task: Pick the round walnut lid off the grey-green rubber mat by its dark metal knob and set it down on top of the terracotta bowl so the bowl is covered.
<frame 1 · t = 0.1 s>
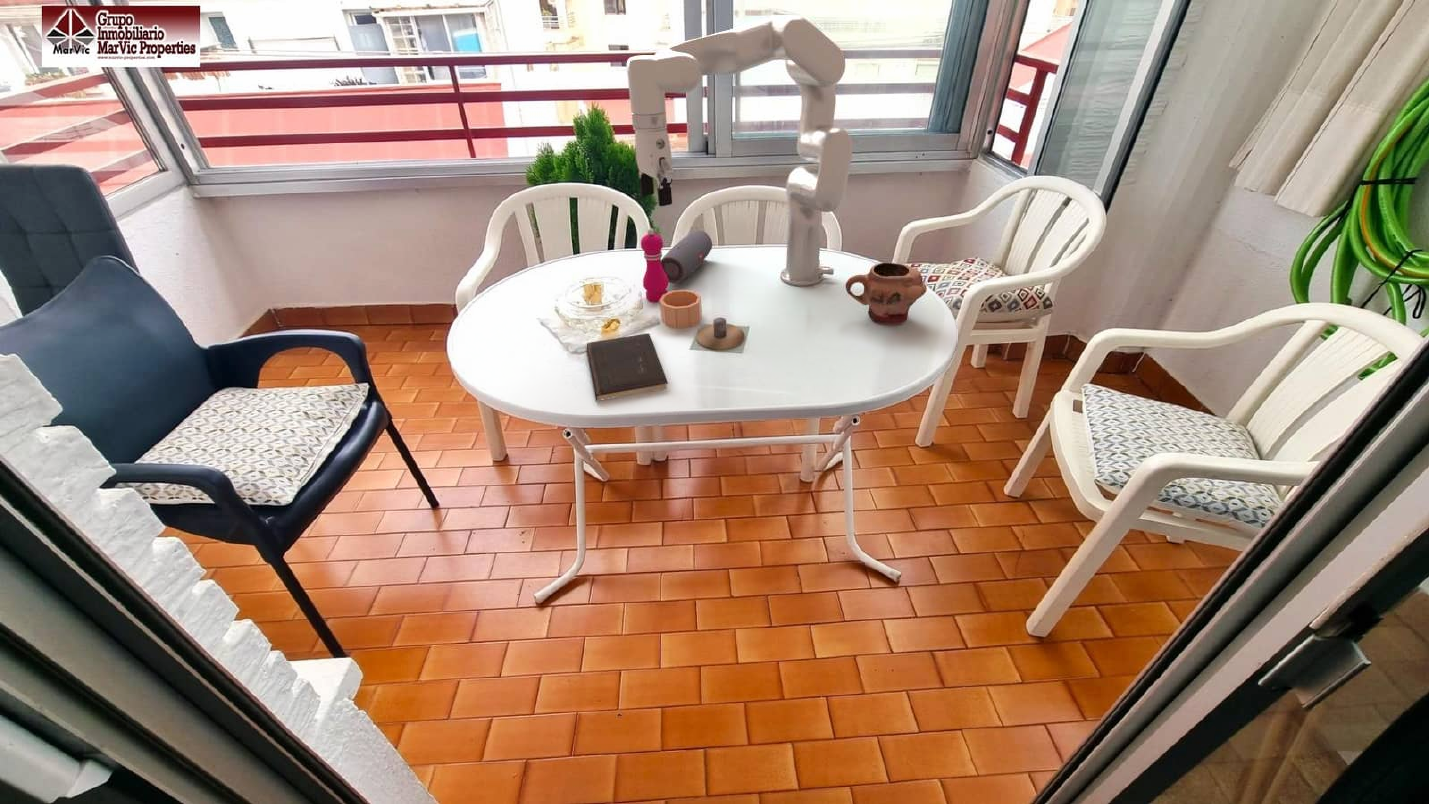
hand: (656, 199, 137), 31 cm above the table, tool pointing down, fingers open, 9 cm apart
pepper mill: (657, 297, 165), on the table
terracotta clay mug: (880, 318, 151), on the table
bowl: (681, 319, 154), on the table
lid: (720, 337, 145), resting on mat
mat: (720, 338, 145), on the table
bluetooth speaker: (687, 273, 178), on the table
hardcover book: (625, 370, 136), on the table
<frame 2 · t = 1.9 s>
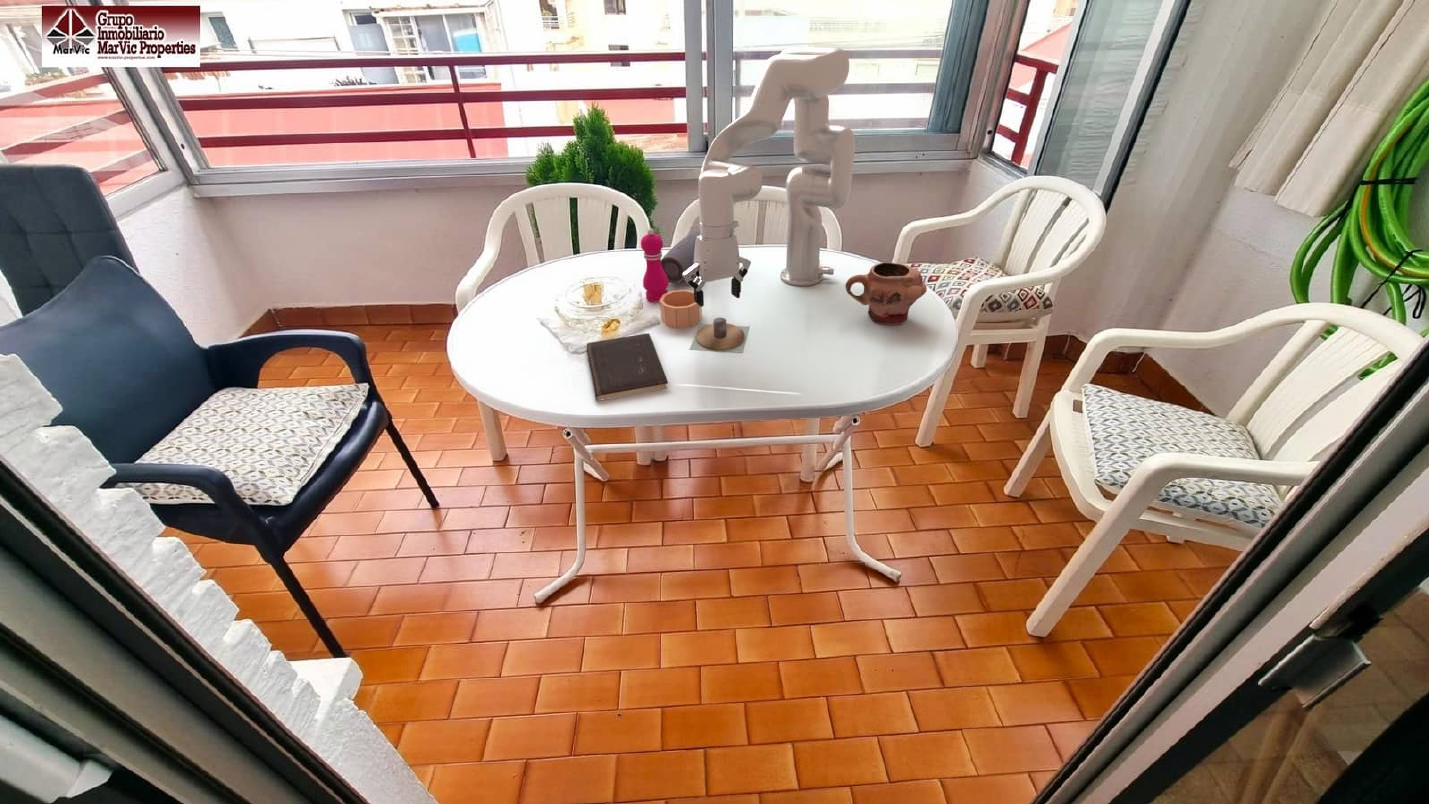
hand: (717, 300, 138), 11 cm above the table, tool pointing down, fingers open, 9 cm apart
nothing on the table moved.
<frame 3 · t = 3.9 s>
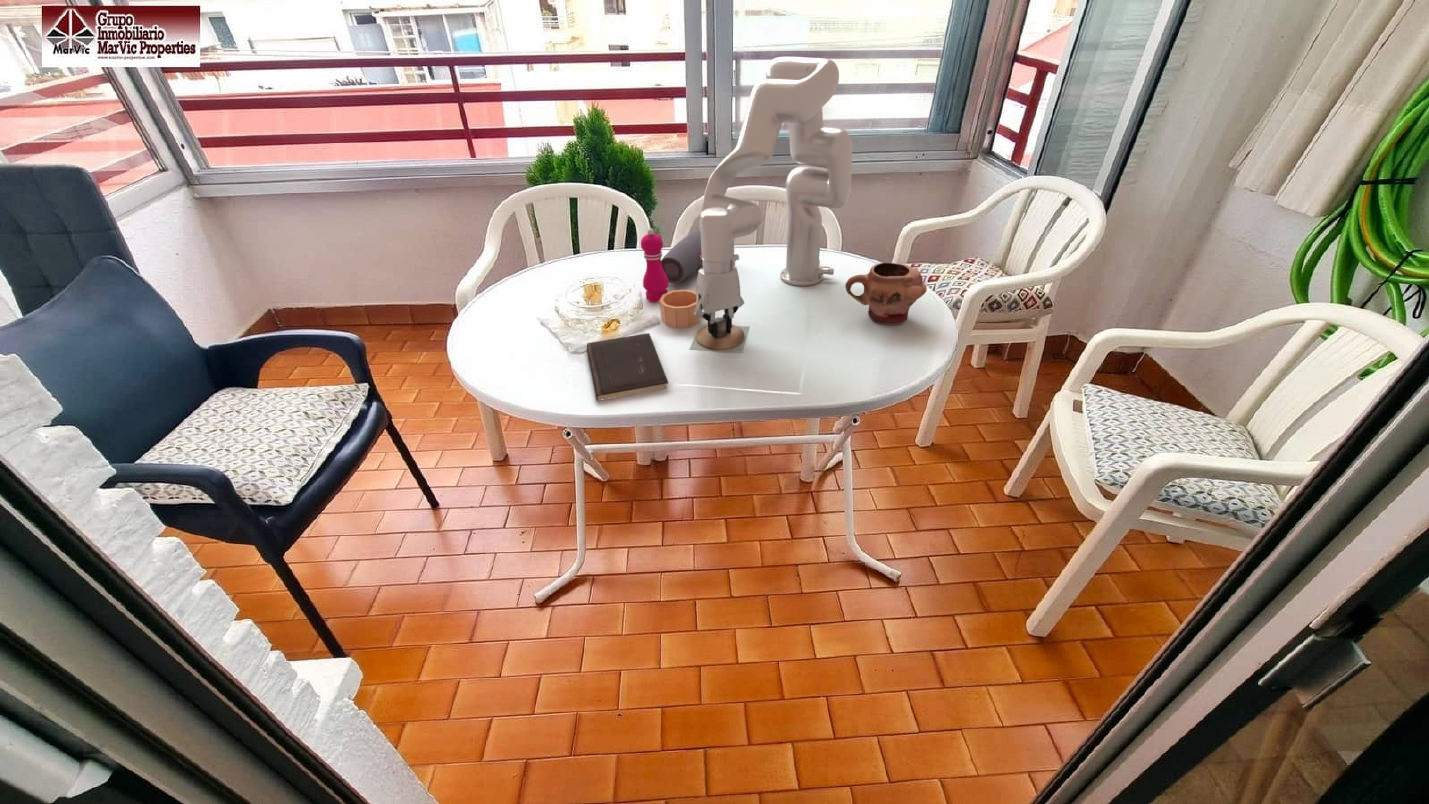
hand: (720, 332, 144), 2 cm above the table, tool pointing down, fingers closed on lid, 3 cm apart
lid: (720, 337, 145), resting on mat, touching gripper
everything else where it was.
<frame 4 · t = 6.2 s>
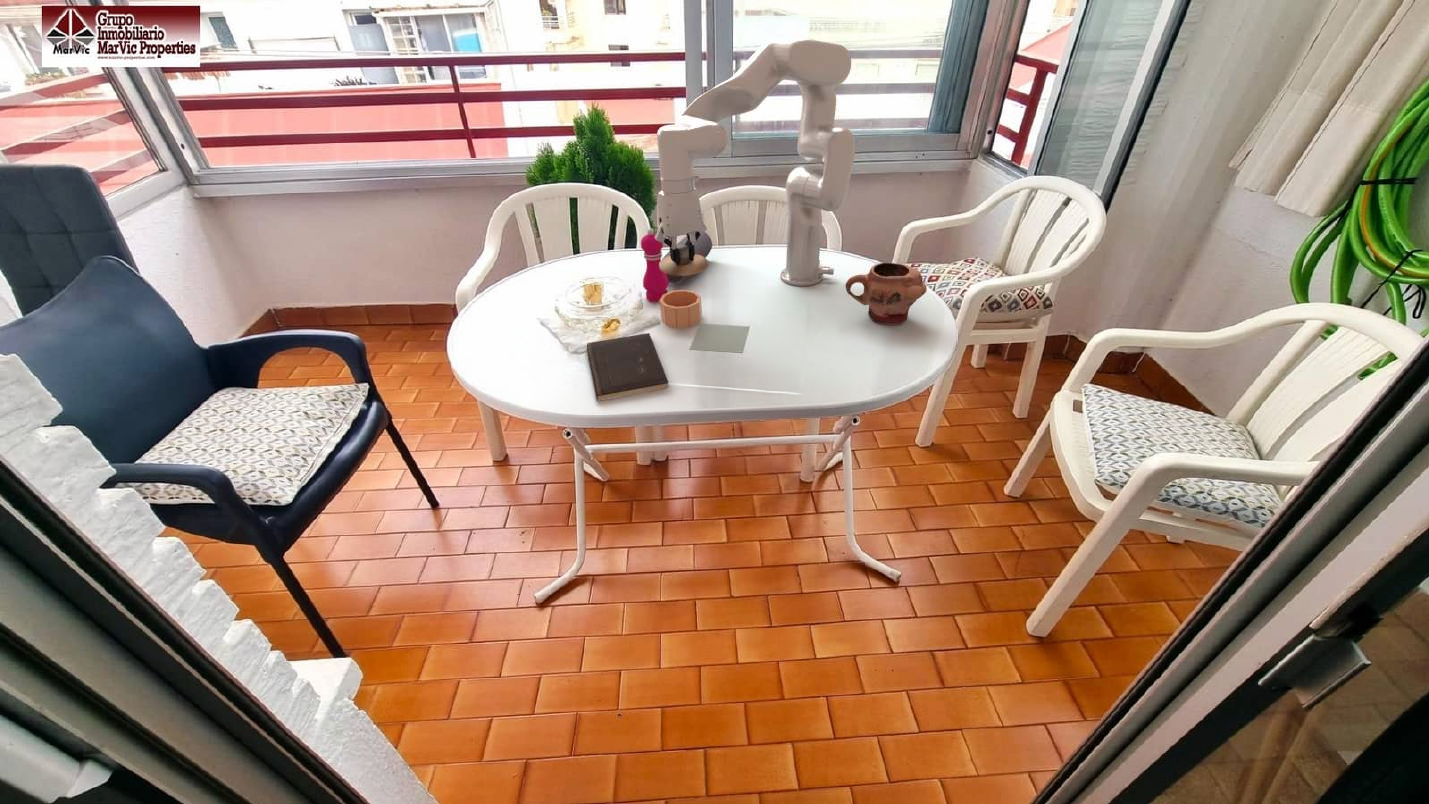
hand: (682, 260, 142), 17 cm above the table, tool pointing down, fingers closed on lid, 3 cm apart
lid: (683, 265, 143), point 16 cm above the table, touching gripper
everything else where it was.
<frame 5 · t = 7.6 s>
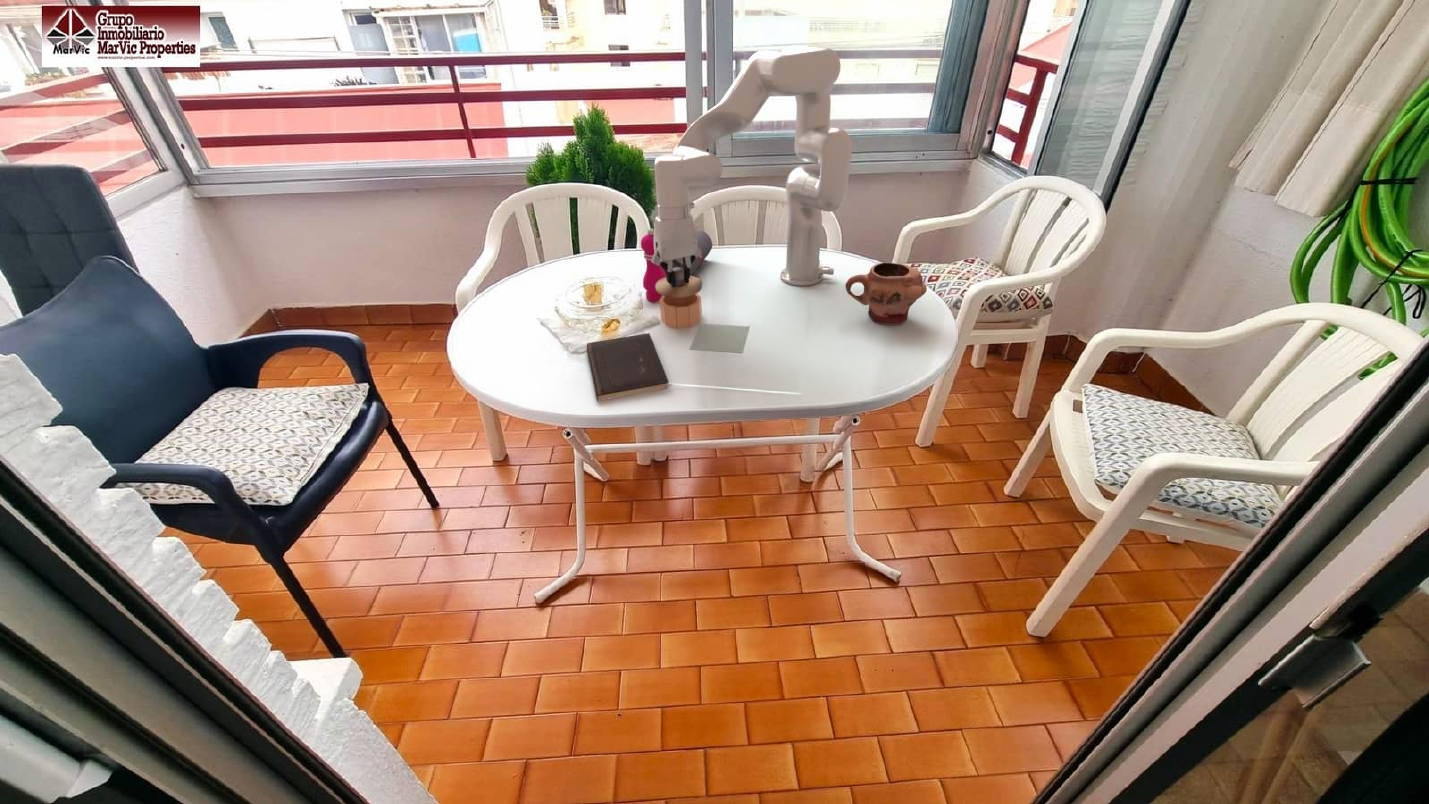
hand: (678, 282, 147), 11 cm above the table, tool pointing down, fingers closed on lid, 3 cm apart
lid: (678, 287, 148), point 9 cm above the table, touching gripper
everything else where it was.
when the fingers open (9 cm above the table, at t = 8.7 s): lid drops 1 cm, resting on bowl.
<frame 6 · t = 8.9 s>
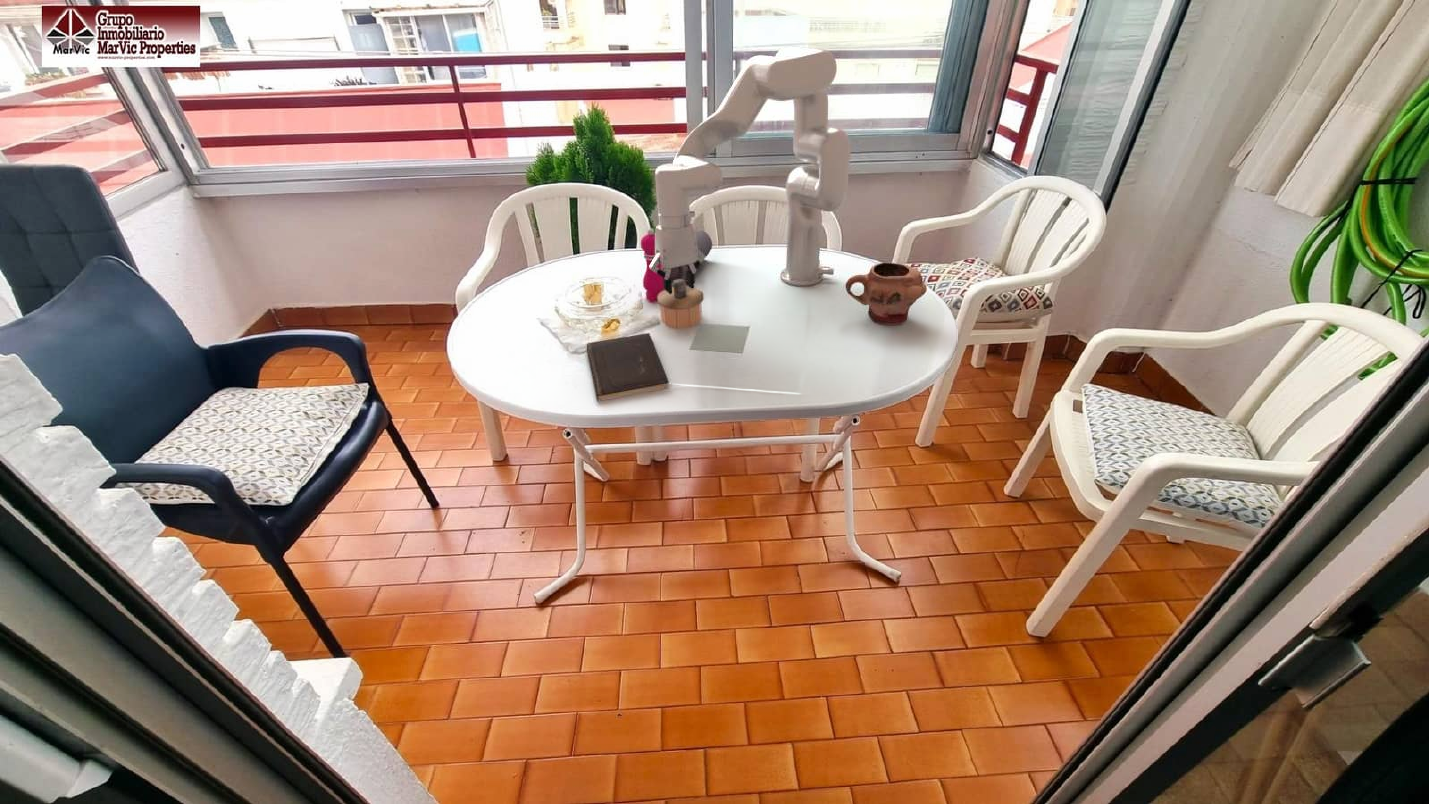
hand: (679, 288, 149), 9 cm above the table, tool pointing down, fingers open, 5 cm apart
lid: (680, 298, 150), point 6 cm above the table, touching bowl
everything else where it was.
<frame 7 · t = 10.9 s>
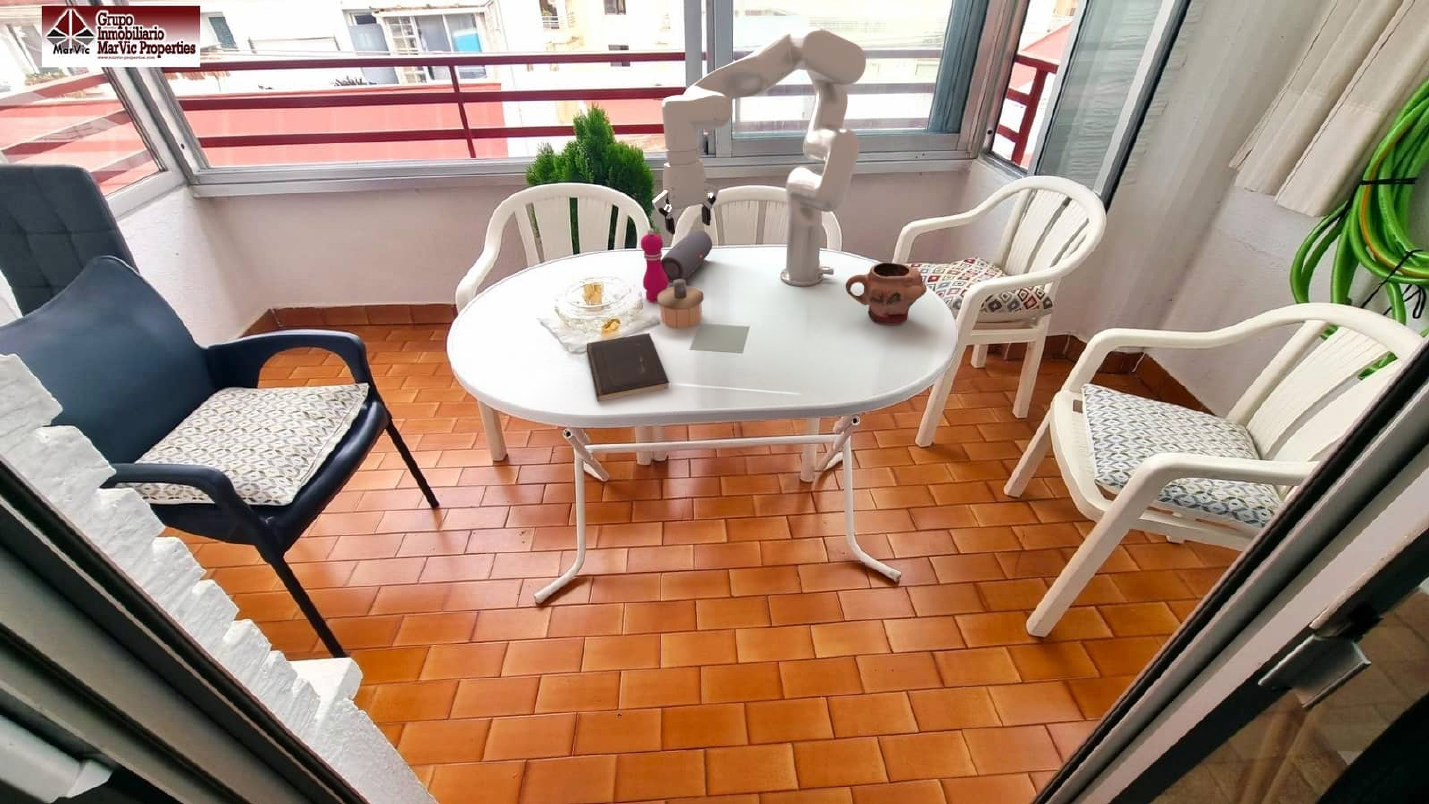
hand: (689, 228, 143), 23 cm above the table, tool pointing down, fingers open, 9 cm apart
nothing on the table moved.
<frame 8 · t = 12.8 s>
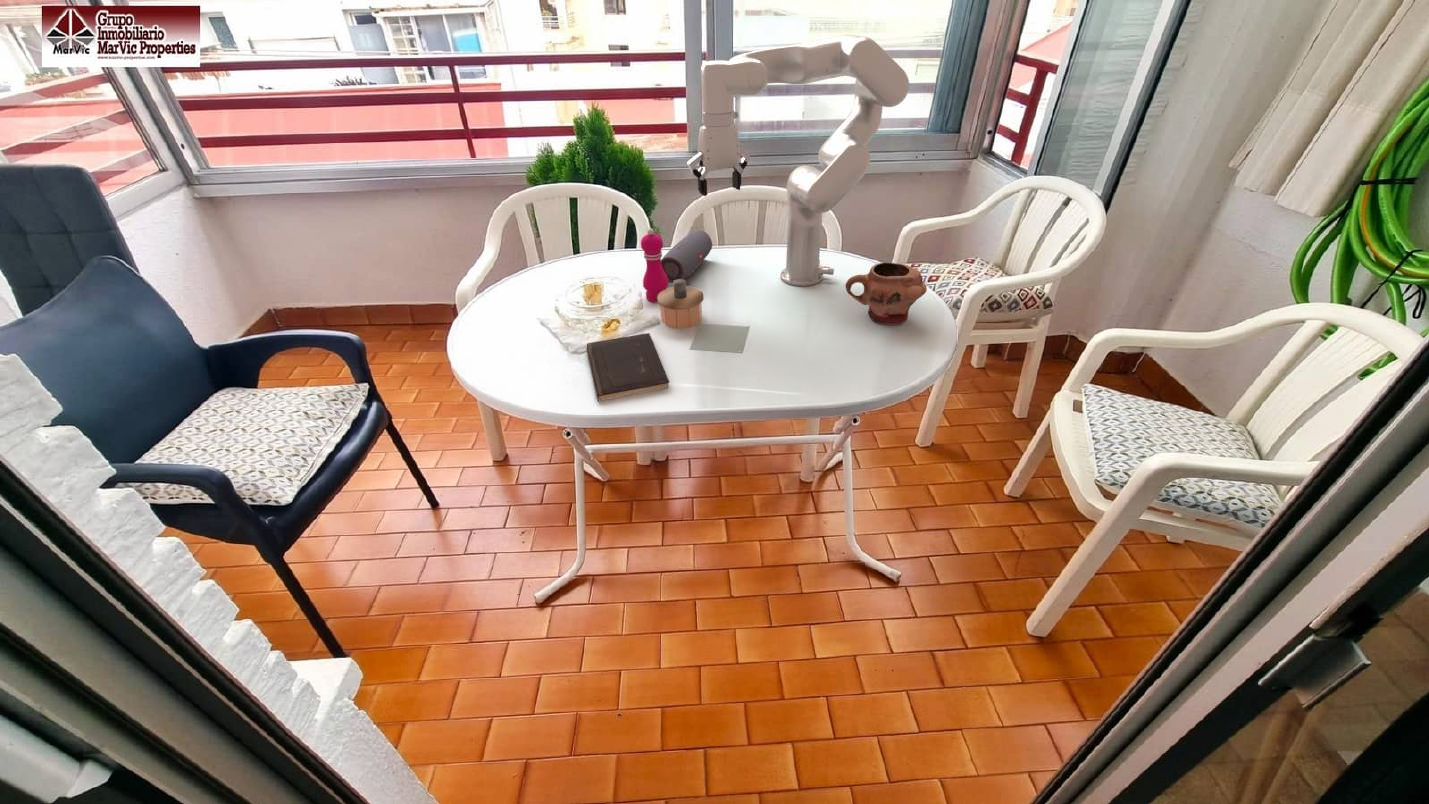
hand: (720, 191, 150), 28 cm above the table, tool pointing down, fingers open, 9 cm apart
nothing on the table moved.
at the end: lid 0.1 cm off-centre on the bowl, point 6.0 cm above the bowl's base; lid tilted 0°; the gripper is holding nothing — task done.
